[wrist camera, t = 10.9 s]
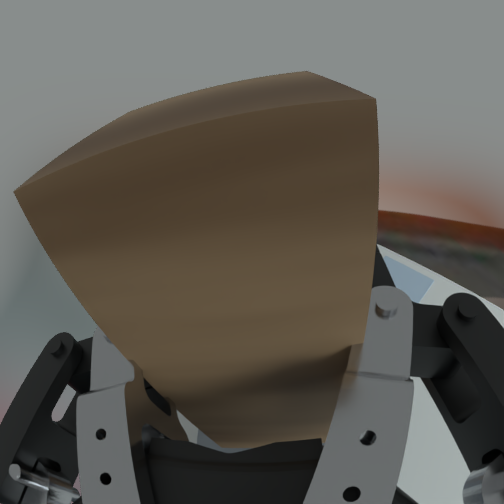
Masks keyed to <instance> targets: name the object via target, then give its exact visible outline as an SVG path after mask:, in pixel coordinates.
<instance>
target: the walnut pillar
mask: <svg viewBox="0 0 504 504" xmlns="http://www.w3.org/2000/svg"><path fill="white" fill-rule="evenodd" d="M14 194H15V196H16V198H17V200H18V202H19V204H20V206H21V208H22V210H23V212H24V214H25V216H26V217H27V219H28V221H29V223H30V225H31V227H32V229H33V230H34V232H35V234H36V236H37V237H38V239H39V241H40V243H41V244H42V246H43V247H44V249H45V251H46V252H47V254H48V256H49V257H50V259H51V261H52V262H53V264H54V265H55V267H56V268H57V270H58V271H59V273H60V274H61V276H62V277H63V279H64V280H65V282H66V283H67V285H68V286H69V288H70V289H71V290H72V292H73V293H74V295H75V296H76V297H77V299H78V300H79V301H80V303H81V304H82V305H83V307H84V308H85V310H86V311H87V312H88V313H89V315H90V316H91V317H92V319H93V320H94V321H95V322H96V324H97V325H98V326H99V327H100V329H101V330H102V331H103V332H104V334H105V335H106V336H107V337H108V338H109V340H110V341H111V342H112V343H113V344H114V345H115V347H116V348H117V349H118V350H119V351H120V352H121V354H122V355H123V356H124V357H125V358H126V359H127V360H134V361H135V362H136V363H137V365H138V366H139V367H140V368H141V369H142V370H143V377H144V378H145V379H146V380H147V381H148V383H149V384H150V385H151V386H152V387H153V388H154V389H155V390H156V391H157V392H158V393H160V394H161V395H162V396H163V397H169V398H170V399H171V400H172V401H173V402H174V403H175V405H176V410H178V411H179V412H180V413H181V414H182V415H183V416H184V417H185V418H186V419H188V420H189V421H190V422H191V423H192V424H193V425H194V426H196V427H197V428H198V429H199V430H200V431H202V432H203V433H204V434H205V435H206V436H208V437H209V438H210V439H211V440H212V441H214V442H215V443H216V444H218V445H219V446H220V447H221V448H256V447H260V446H264V445H267V444H271V443H274V442H284V441H297V440H307V439H316V438H322V443H325V441H326V438H327V435H328V432H329V428H330V425H331V422H332V418H333V415H334V411H335V408H336V404H337V400H338V396H339V393H340V389H341V385H342V381H343V377H344V374H345V372H346V369H347V365H348V361H349V356H350V351H351V347H352V345H354V344H360V343H364V337H365V331H366V325H367V319H368V312H369V305H370V298H371V290H372V282H373V273H374V263H375V251H376V238H377V222H378V197H379V144H378V121H377V105H376V99H375V98H373V97H371V96H369V95H367V94H364V93H362V92H360V91H358V90H355V89H353V88H351V87H348V86H346V85H343V84H341V83H338V82H336V81H333V80H330V79H328V78H325V77H323V76H320V75H317V74H314V73H311V72H308V71H303V72H294V73H286V74H279V75H272V76H265V77H259V78H253V79H248V80H242V81H238V82H232V83H228V84H223V85H218V86H214V87H210V88H206V89H202V90H198V91H194V92H190V93H187V94H183V95H179V96H176V97H172V98H169V99H166V100H163V101H159V102H156V103H154V104H151V105H147V106H144V107H141V108H138V109H136V110H133V111H130V112H128V113H126V114H125V115H123V116H121V117H119V118H117V119H116V120H114V121H112V122H110V123H109V124H107V125H105V126H104V127H102V128H100V129H99V130H97V131H95V132H94V133H92V134H91V135H89V136H88V137H86V138H84V139H83V140H82V141H80V142H78V143H77V144H75V145H74V146H72V147H71V148H70V149H68V150H67V151H65V152H64V153H62V154H61V155H59V156H58V157H57V158H55V159H54V160H53V161H51V162H50V163H49V164H47V165H46V166H45V167H43V168H42V169H41V170H39V171H38V172H37V173H36V174H34V175H33V176H32V177H31V178H29V179H28V180H27V181H26V182H25V183H23V184H22V185H21V186H20V187H18V188H17V189H16V190H15V191H14Z"/></svg>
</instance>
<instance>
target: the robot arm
mask: <svg viewBox="0 0 504 504" xmlns="http://www.w3.org/2000/svg"><path fill="white" fill-rule="evenodd" d="M410 377H420V378H421V380H422V382H423V383H424V385H425V387H426V388H427V390H428V392H429V394H430V395H431V397H432V399H433V401H434V403H435V404H436V406H437V408H438V410H439V412H440V413H441V415H442V417H443V419H444V421H445V423H446V425H447V426H448V428H449V430H450V432H451V434H452V436H453V438H454V440H455V442H456V444H457V446H458V448H459V450H460V452H461V454H462V456H463V458H464V460H465V462H466V464H467V466H468V469H469V471H470V473H471V474H470V475H469V476H468V478H467V480H466V482H465V484H464V487H463V493H462V496H463V502H464V504H504V328H503V327H502V325H501V324H500V323H499V322H498V320H497V319H496V318H495V317H494V315H493V314H492V313H491V312H490V311H489V309H488V308H487V307H486V306H485V305H484V303H483V302H482V301H481V300H480V299H478V298H477V297H475V296H474V295H471V294H469V293H463V292H461V293H454V294H452V295H450V296H449V297H448V298H447V299H446V300H445V302H444V304H443V306H439V305H427V304H419V303H416V302H413V301H411V299H410V297H409V296H408V295H407V294H406V293H405V292H404V291H402V290H400V289H398V288H396V286H395V284H394V282H393V279H392V277H391V275H390V272H389V270H388V268H387V266H386V264H385V261H384V259H383V257H382V255H381V253H380V251H379V248H378V246H377V244H376V251H375V263H374V273H373V282H372V290H371V298H370V305H369V312H368V319H367V325H366V331H365V337H364V343H360V344H354V345H352V347H351V351H350V356H349V361H348V365H347V369H346V372H345V374H344V377H343V381H342V385H341V389H340V393H339V396H338V400H337V404H336V408H335V411H334V415H333V418H332V422H331V425H330V428H329V432H328V435H327V438H326V441H325V444H324V446H323V445H322V438H316V439H307V440H297V441H284V442H274V443H271V444H267V445H264V446H260V447H256V448H252V449H248V450H244V451H240V452H235V453H225V452H222V451H218V450H215V449H211V448H208V447H205V446H201V445H198V444H195V443H192V442H189V439H188V436H187V434H186V432H185V430H184V428H183V427H182V425H181V424H180V421H179V419H178V415H177V410H176V405H175V403H174V402H173V401H172V400H171V399H170V398H169V397H163V396H162V395H161V394H160V393H158V392H157V391H156V390H155V389H154V388H153V387H152V386H151V385H150V384H149V383H148V381H147V380H146V379H145V378H144V377H143V370H142V369H141V368H140V367H139V366H138V365H137V363H136V362H135V361H134V360H127V359H126V358H125V357H124V356H123V355H122V354H121V352H120V351H119V350H118V349H117V348H116V347H115V345H114V344H113V343H112V342H111V341H110V340H109V338H108V337H107V336H106V335H105V334H104V332H103V331H102V330H101V329H100V327H99V326H98V327H97V328H96V330H95V332H94V335H93V337H91V338H88V339H85V340H82V341H79V342H77V341H76V340H75V339H74V338H73V337H72V336H71V334H69V333H66V332H63V333H59V334H57V335H55V336H54V337H53V338H52V339H51V340H50V341H49V342H48V343H47V345H46V346H45V348H44V349H43V351H42V353H41V354H40V356H39V357H38V359H37V360H36V362H35V364H34V365H33V367H32V368H31V370H30V372H29V374H28V375H27V377H26V379H25V380H24V382H23V384H22V385H21V387H20V389H19V391H18V392H17V394H16V396H15V398H14V400H13V401H12V403H11V405H10V407H9V409H8V411H7V413H6V414H5V416H4V418H3V421H2V422H1V424H0V503H1V504H71V501H72V502H74V503H72V504H419V503H417V502H416V501H415V500H414V499H412V498H411V497H410V496H409V495H408V494H406V493H405V492H404V491H403V490H402V489H400V488H399V487H398V486H397V483H398V479H399V475H400V471H401V466H402V462H403V457H404V453H405V448H406V443H407V437H408V432H409V425H410V419H411V412H412V405H413V396H414V381H413V379H411V378H410ZM67 384H68V385H69V386H70V387H72V388H73V389H74V390H75V391H76V394H75V396H74V398H73V400H72V401H71V403H70V405H69V407H68V409H67V411H66V413H65V414H64V416H63V418H62V419H61V420H60V421H58V422H55V421H52V417H51V415H52V411H53V409H54V407H55V405H56V403H57V401H58V399H59V398H60V396H61V394H62V392H63V390H64V389H65V387H66V385H67ZM78 473H79V478H80V486H81V496H80V494H79V492H78V490H77V489H75V488H73V484H74V482H75V480H76V478H77V476H78Z"/></svg>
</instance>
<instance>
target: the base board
mask: <svg viewBox="0 0 504 504" xmlns="http://www.w3.org/2000/svg"><path fill="white" fill-rule="evenodd" d="M377 246H378V248H379V251H380V253H381V255H382V257H383V259H384V261H385V264H386V266H387V268H388V270H389V272H390V275H391V277H392V279H393V282H394V284H395V286H396V288H398V289H400V290H402V291H404V292H405V293H406V294H407V295H408V296H409V297H410V299H411V301H413V302H416V303H419V304H427V305H439V306H443V304H444V302H445V300H446V299H447V298H448V297H449V296H450V295H452V294H454V293H461V292H463V293H469V294H471V295H474V296H475V297H477V298H478V299H480V300H481V301H482V302H483V303H484V305H485V306H486V307H487V308H488V309H489V311H490V312H491V313H492V314H493V315H494V317H495V318H496V319H497V320H498V322H499V323H500V324H501V325H502V327H503V328H504V310H503V309H501V308H499V307H498V306H496V305H494V304H492V303H491V302H489V301H487V300H485V299H484V298H482V297H480V296H478V295H476V294H475V293H473V292H471V291H469V290H467V289H465V288H464V287H462V286H460V285H458V284H456V283H454V282H452V281H450V280H449V279H447V278H445V277H443V276H441V275H439V274H437V273H435V272H433V271H431V270H429V269H427V268H425V267H423V266H421V265H419V264H417V263H415V262H413V261H411V260H409V259H407V258H405V257H403V256H401V255H399V254H397V253H395V252H393V251H391V250H389V249H387V248H385V247H383V246H380V245H378V244H377ZM410 378H411V379H413V381H414V396H413V405H412V412H411V419H410V425H409V432H408V437H407V443H406V448H405V453H404V457H403V462H402V466H401V471H400V475H399V479H398V483H397V486H398V487H399V488H400V489H402V490H403V491H404V492H405V493H406V494H408V495H409V496H410V497H411V498H412V499H414V500H415V501H416V502H417V503H419V504H464V502H463V496H462V493H463V487H464V484H465V482H466V480H467V478H468V476H469V475H470V474H471V473H470V471H469V469H468V466H467V464H466V462H465V460H464V458H463V456H462V454H461V452H460V450H459V448H458V446H457V444H456V442H455V440H454V438H453V436H452V434H451V432H450V430H449V428H448V426H447V425H446V423H445V421H444V419H443V417H442V415H441V413H440V412H439V410H438V408H437V406H436V404H435V403H434V401H433V399H432V397H431V395H430V394H429V392H428V390H427V388H426V387H425V385H424V383H423V382H422V380H421V378H420V377H410ZM177 415H178V419H179V421H180V424H181V425H182V427H183V428H184V430H185V432H186V434H187V436H188V439H189V442H192V443H195V444H198V445H201V446H205V447H208V448H211V449H215V450H218V451H222V452H225V453H235V452H240V451H244V450H248V449H252V448H221V447H220V446H219V445H218V444H216V443H215V442H214V441H212V440H211V439H210V438H209V437H208V436H206V435H205V434H204V433H203V432H202V431H200V430H199V429H198V428H197V427H196V426H194V425H193V424H192V423H191V422H190V421H189V420H188V419H186V418H185V417H184V416H183V415H182V414H181V413H180V412H179V411H178V410H177ZM324 444H325V443H322V445H323V446H324Z"/></svg>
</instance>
